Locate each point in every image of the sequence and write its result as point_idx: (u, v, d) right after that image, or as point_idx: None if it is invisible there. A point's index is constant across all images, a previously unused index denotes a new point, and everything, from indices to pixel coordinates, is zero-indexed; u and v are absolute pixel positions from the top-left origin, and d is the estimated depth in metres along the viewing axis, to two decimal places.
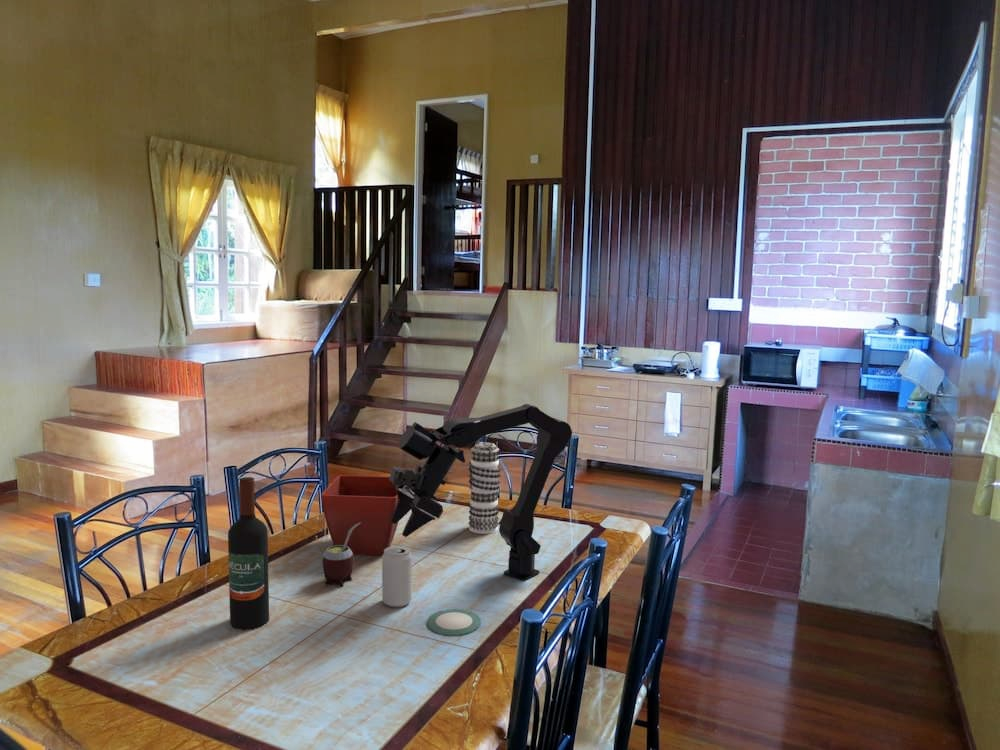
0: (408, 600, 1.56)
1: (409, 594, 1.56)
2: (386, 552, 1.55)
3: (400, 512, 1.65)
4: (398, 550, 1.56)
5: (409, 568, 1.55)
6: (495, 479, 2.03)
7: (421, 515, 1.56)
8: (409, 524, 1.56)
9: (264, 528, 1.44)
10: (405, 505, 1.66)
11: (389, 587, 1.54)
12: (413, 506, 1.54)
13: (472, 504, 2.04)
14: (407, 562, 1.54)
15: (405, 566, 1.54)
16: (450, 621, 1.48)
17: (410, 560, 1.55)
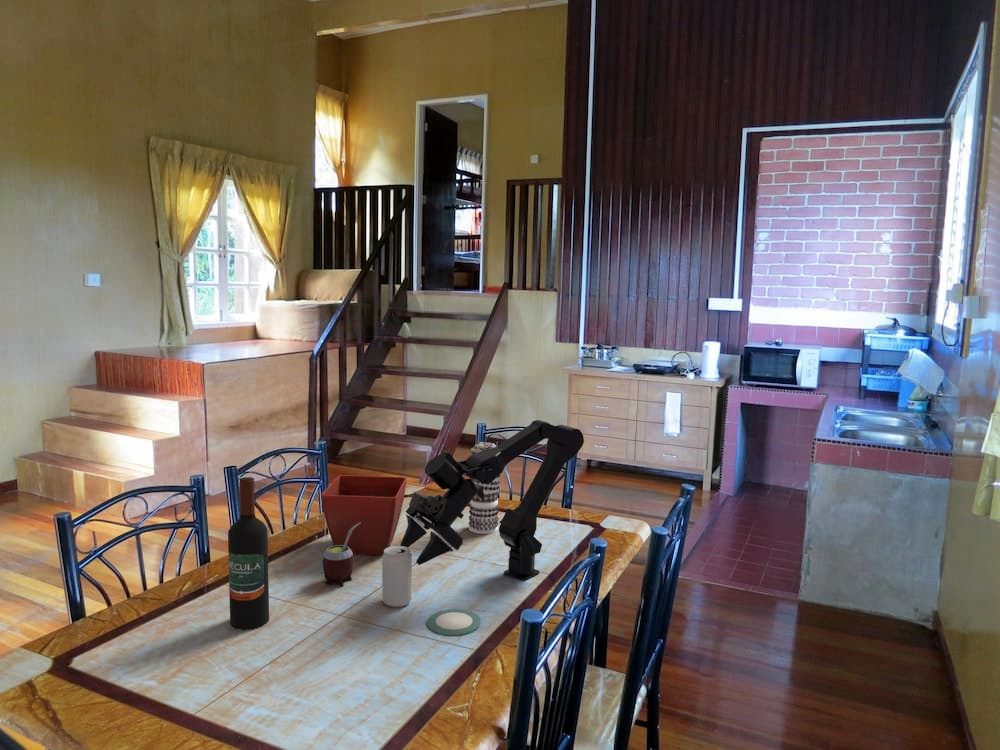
0: (408, 600, 1.56)
1: (409, 594, 1.56)
2: (386, 552, 1.55)
3: (408, 540, 1.62)
4: (398, 550, 1.56)
5: (409, 568, 1.55)
6: (495, 479, 2.03)
7: (439, 545, 1.55)
8: (426, 552, 1.53)
9: (264, 528, 1.44)
10: (415, 534, 1.64)
11: (389, 587, 1.54)
12: (435, 534, 1.52)
13: (472, 504, 2.04)
14: (407, 562, 1.54)
15: (405, 566, 1.54)
16: (450, 621, 1.48)
17: (410, 560, 1.55)
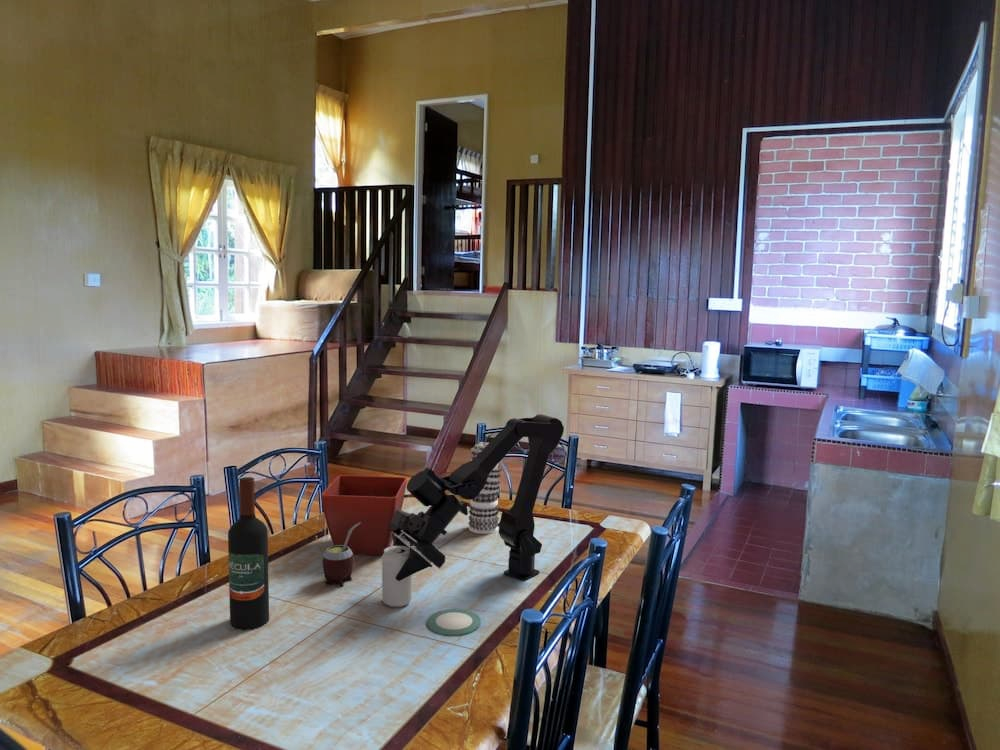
0: (408, 600, 1.56)
1: (409, 594, 1.56)
2: (386, 552, 1.55)
3: None
4: (398, 550, 1.56)
5: None
6: (495, 479, 2.03)
7: (418, 561, 1.54)
8: (405, 568, 1.53)
9: (264, 528, 1.44)
10: None
11: (389, 587, 1.54)
12: (414, 550, 1.51)
13: (472, 504, 2.04)
14: None
15: None
16: (450, 621, 1.48)
17: None
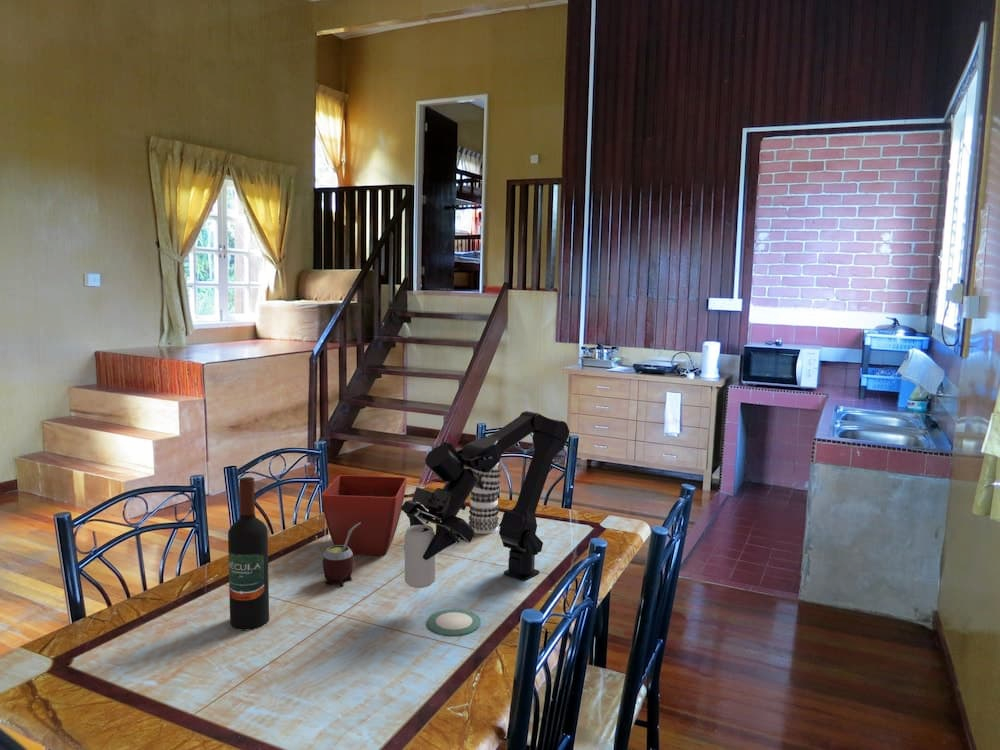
0: (433, 579, 1.51)
1: (434, 573, 1.51)
2: (410, 532, 1.49)
3: None
4: (421, 529, 1.50)
5: None
6: (495, 479, 2.03)
7: (444, 537, 1.50)
8: (433, 546, 1.48)
9: (264, 528, 1.44)
10: None
11: (416, 568, 1.48)
12: (443, 527, 1.47)
13: (472, 504, 2.04)
14: None
15: None
16: (450, 621, 1.48)
17: None
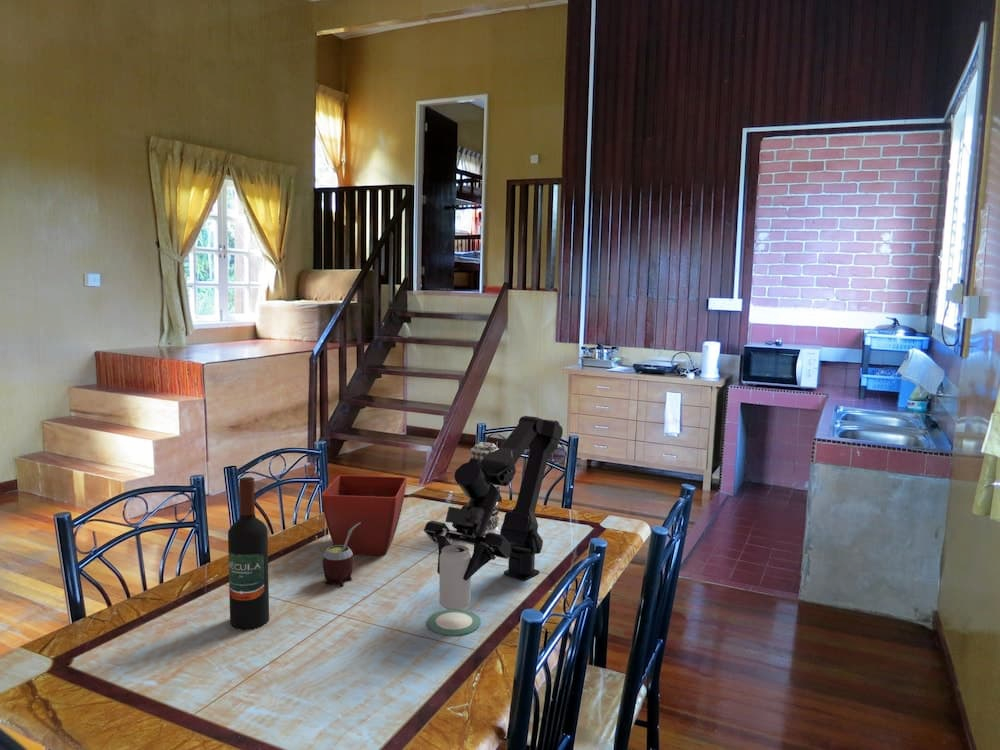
0: None
1: None
2: (448, 553, 1.44)
3: None
4: (456, 549, 1.47)
5: None
6: None
7: (481, 555, 1.47)
8: (473, 566, 1.45)
9: (264, 528, 1.44)
10: None
11: (456, 590, 1.44)
12: (484, 545, 1.45)
13: None
14: None
15: None
16: (450, 621, 1.48)
17: None
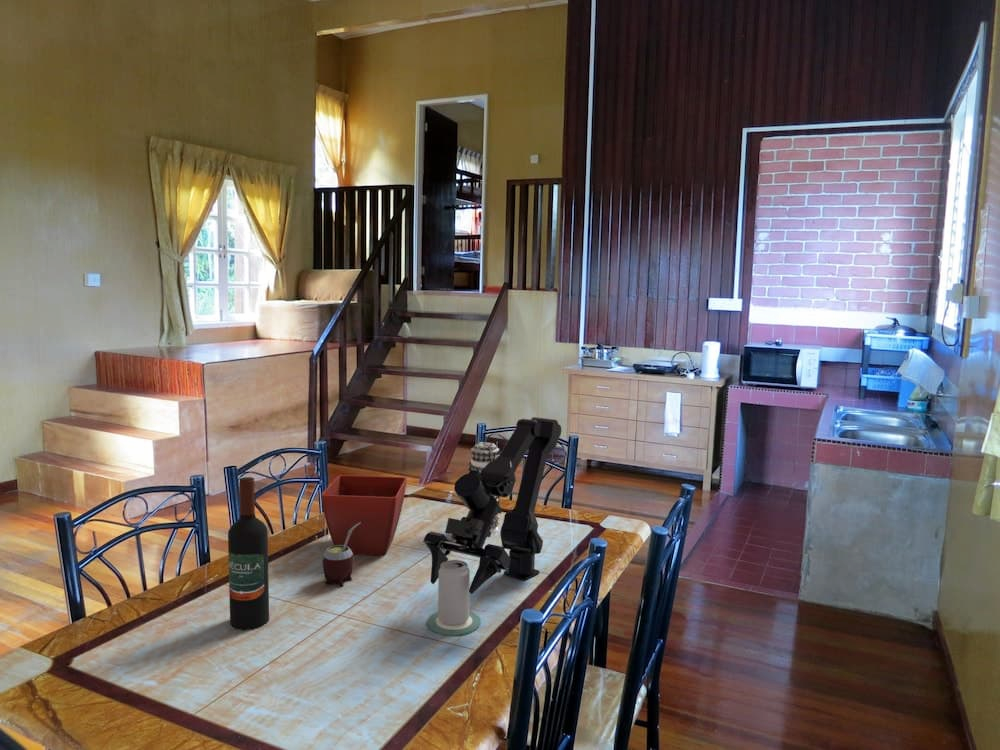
0: None
1: None
2: (447, 569, 1.45)
3: (437, 570, 1.50)
4: (455, 565, 1.47)
5: (469, 581, 1.48)
6: None
7: (486, 568, 1.47)
8: (478, 579, 1.44)
9: (264, 528, 1.44)
10: (440, 562, 1.52)
11: (455, 605, 1.45)
12: (490, 558, 1.44)
13: None
14: (469, 575, 1.47)
15: (468, 579, 1.46)
16: None
17: None
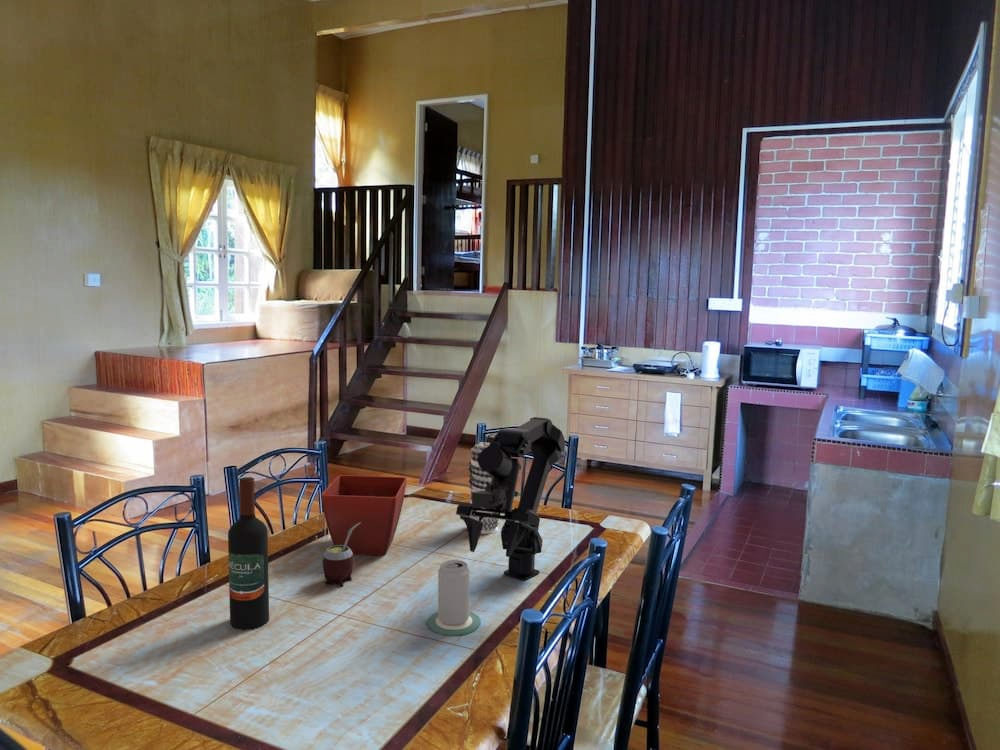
0: None
1: None
2: (447, 569, 1.45)
3: (475, 538, 1.58)
4: (455, 565, 1.47)
5: None
6: None
7: (518, 530, 1.54)
8: (512, 543, 1.52)
9: (264, 528, 1.44)
10: (476, 530, 1.60)
11: (455, 605, 1.45)
12: (518, 522, 1.51)
13: None
14: (468, 575, 1.47)
15: (468, 579, 1.46)
16: None
17: None
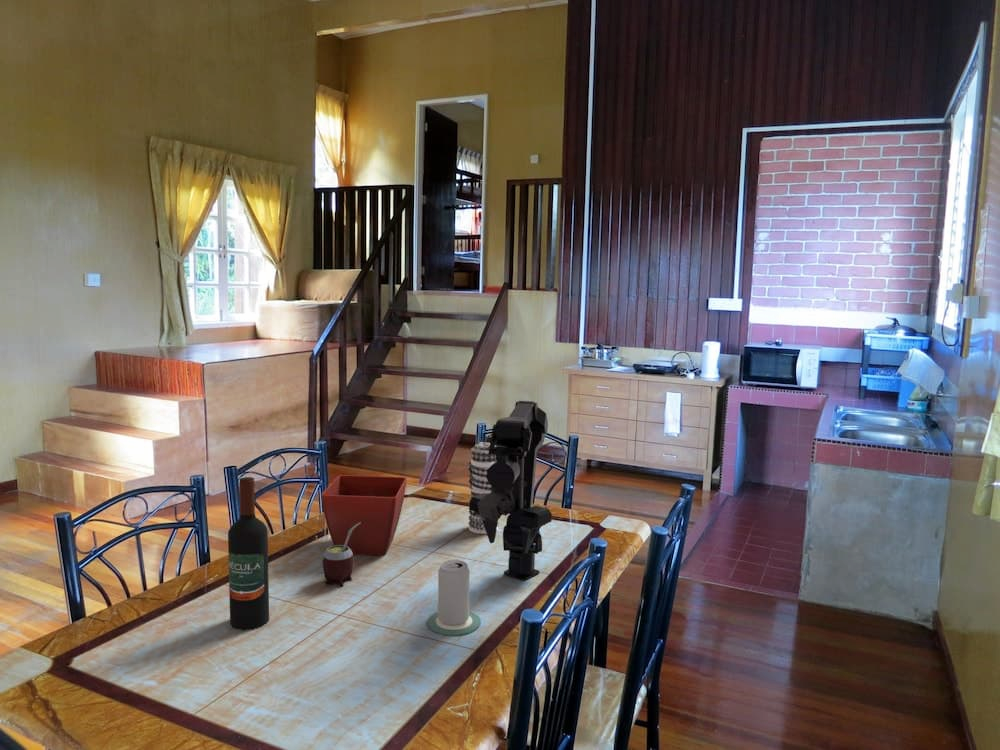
0: None
1: None
2: (447, 569, 1.45)
3: (492, 530, 1.58)
4: (455, 565, 1.47)
5: None
6: None
7: None
8: (527, 541, 1.51)
9: (264, 528, 1.44)
10: (492, 520, 1.59)
11: (455, 605, 1.45)
12: (529, 528, 1.48)
13: None
14: (468, 575, 1.47)
15: (468, 579, 1.46)
16: None
17: None
